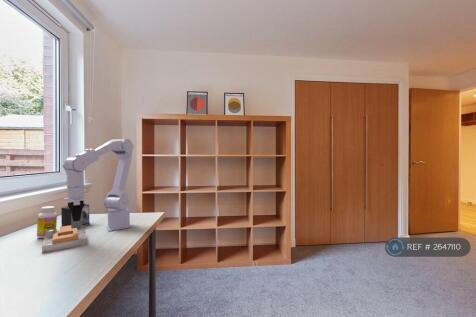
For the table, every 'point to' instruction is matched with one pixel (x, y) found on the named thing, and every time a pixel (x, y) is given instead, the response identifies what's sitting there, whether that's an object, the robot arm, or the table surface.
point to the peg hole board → (48, 245)
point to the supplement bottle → (46, 221)
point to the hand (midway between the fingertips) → (76, 219)
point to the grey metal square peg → (76, 222)
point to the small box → (67, 216)
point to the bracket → (65, 234)
